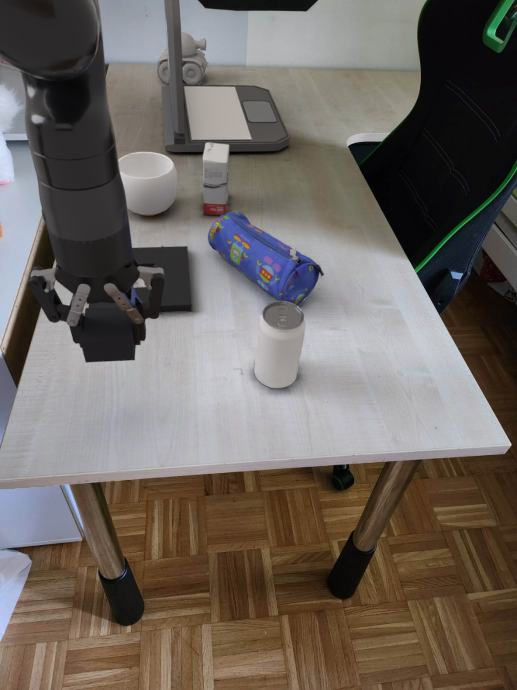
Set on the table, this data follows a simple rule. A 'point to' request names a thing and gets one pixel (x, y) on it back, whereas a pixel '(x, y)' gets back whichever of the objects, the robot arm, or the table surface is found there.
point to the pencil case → (264, 258)
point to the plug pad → (107, 335)
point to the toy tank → (186, 61)
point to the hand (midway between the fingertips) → (111, 341)
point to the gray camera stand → (214, 107)
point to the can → (279, 344)
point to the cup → (148, 182)
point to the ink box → (215, 178)
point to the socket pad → (175, 277)
